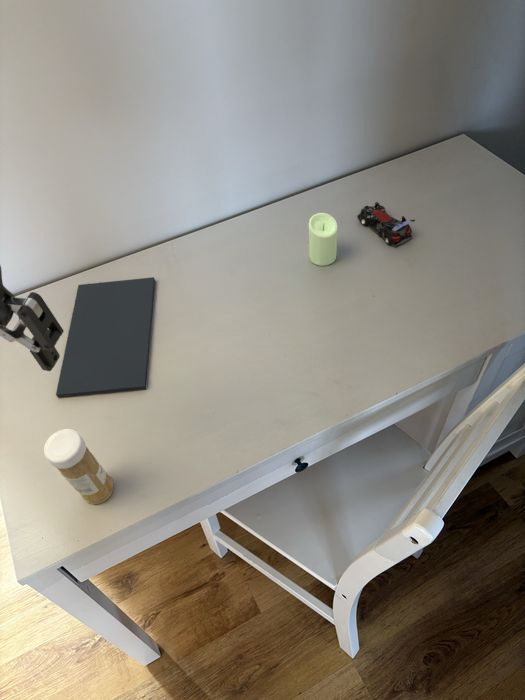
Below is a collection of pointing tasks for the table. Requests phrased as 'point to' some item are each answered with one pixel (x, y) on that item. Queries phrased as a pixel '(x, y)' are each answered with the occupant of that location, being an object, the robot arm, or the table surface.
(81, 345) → the mat
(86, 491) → the sprinkles bottle
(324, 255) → the candle
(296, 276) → the table surface
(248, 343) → the table surface
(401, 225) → the toy car
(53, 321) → the robot arm
